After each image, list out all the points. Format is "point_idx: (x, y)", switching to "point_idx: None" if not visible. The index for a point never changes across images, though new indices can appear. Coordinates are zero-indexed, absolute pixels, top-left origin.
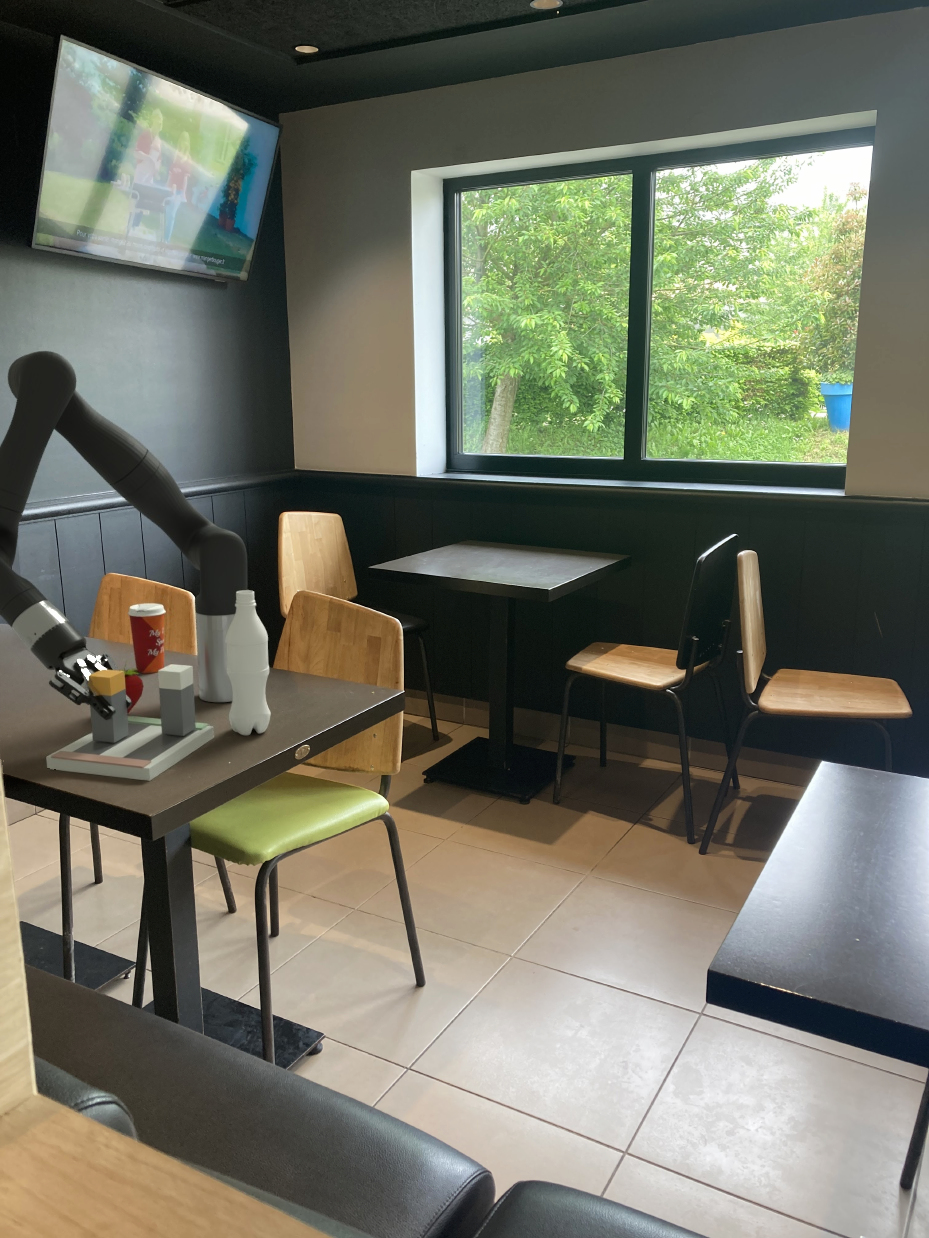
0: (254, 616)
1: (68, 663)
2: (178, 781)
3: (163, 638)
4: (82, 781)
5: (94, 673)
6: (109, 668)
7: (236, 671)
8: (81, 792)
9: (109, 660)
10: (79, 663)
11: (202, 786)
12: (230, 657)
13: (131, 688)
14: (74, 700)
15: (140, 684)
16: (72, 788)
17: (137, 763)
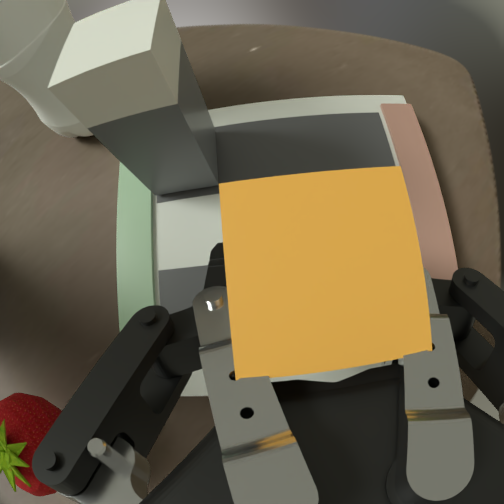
0: None
1: (500, 493)
2: (368, 72)
3: None
4: (463, 227)
5: (365, 354)
6: (130, 401)
7: (58, 10)
8: (489, 193)
9: (78, 429)
10: (466, 450)
11: (361, 39)
12: (29, 1)
13: (37, 411)
14: (475, 331)
15: (13, 397)
16: (488, 221)
17: (406, 120)
